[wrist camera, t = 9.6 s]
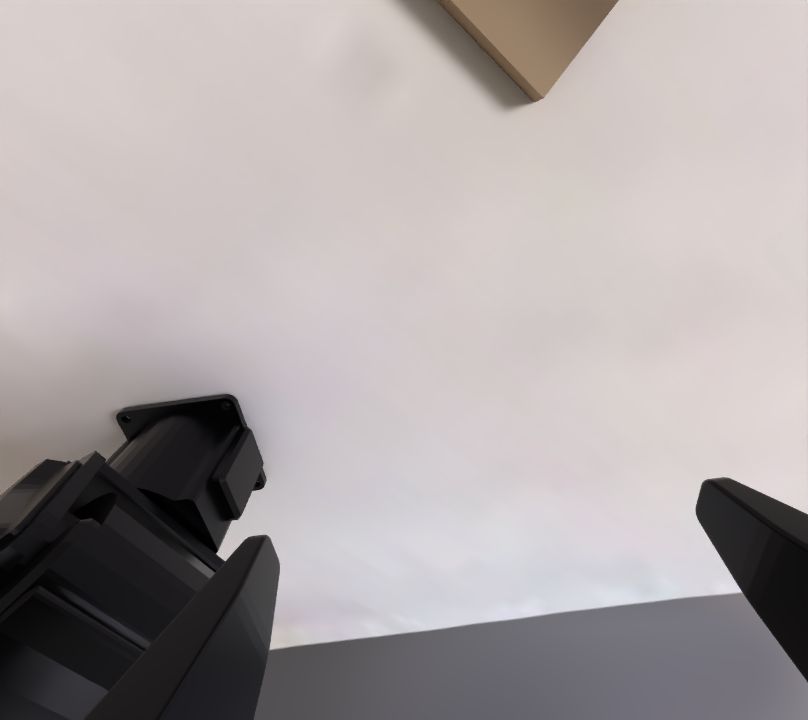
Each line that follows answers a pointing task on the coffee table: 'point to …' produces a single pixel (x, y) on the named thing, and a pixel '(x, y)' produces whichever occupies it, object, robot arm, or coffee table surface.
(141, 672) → the robot arm
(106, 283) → the coffee table surface
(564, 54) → the guide
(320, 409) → the coffee table surface
